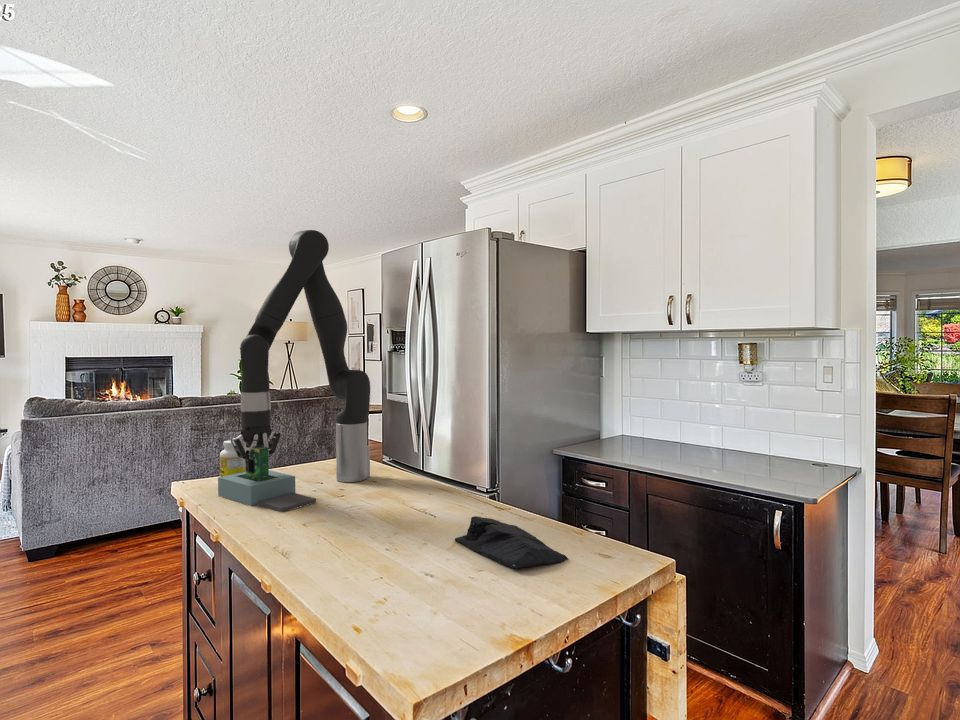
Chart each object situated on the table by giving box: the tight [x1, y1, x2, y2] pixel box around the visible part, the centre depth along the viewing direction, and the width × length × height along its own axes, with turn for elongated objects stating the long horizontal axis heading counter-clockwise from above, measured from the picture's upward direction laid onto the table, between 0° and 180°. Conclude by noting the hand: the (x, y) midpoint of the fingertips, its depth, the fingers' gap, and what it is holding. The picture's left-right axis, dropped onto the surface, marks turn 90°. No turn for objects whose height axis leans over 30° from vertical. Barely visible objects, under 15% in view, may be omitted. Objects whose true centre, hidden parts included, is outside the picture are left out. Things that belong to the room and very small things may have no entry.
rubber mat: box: [257, 492, 317, 513], centre depth 137 cm, size 10×10×1 cm
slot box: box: [217, 469, 296, 507], centre depth 145 cm, size 13×16×5 cm
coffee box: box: [245, 446, 270, 482], centre depth 145 cm, size 8×3×13 cm, turn 49°
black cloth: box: [454, 516, 569, 569], centre depth 106 cm, size 15×22×5 cm
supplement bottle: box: [219, 439, 246, 477], centre depth 156 cm, size 7×7×13 cm
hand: (257, 471), depth 145 cm, fingers closed on coffee box, 3 cm apart
